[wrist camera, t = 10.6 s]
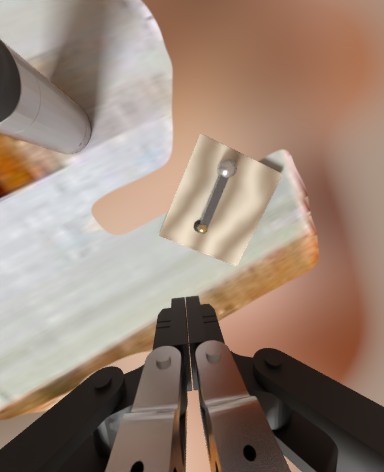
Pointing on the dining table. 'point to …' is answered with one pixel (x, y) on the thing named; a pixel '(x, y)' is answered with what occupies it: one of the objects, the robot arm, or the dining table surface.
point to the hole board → (229, 206)
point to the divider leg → (216, 193)
